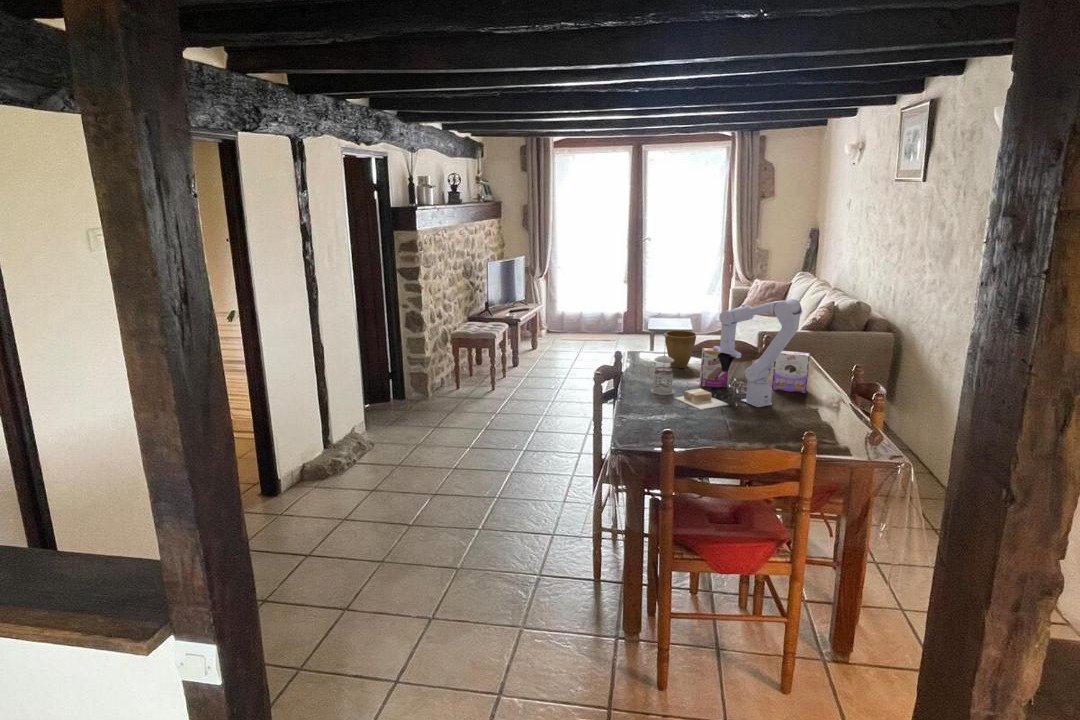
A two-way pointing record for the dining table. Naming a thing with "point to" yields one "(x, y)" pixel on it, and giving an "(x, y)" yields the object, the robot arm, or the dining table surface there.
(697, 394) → the slab
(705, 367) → the candy bar box
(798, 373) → the candy box
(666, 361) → the french press
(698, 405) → the mat
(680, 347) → the plant pot
